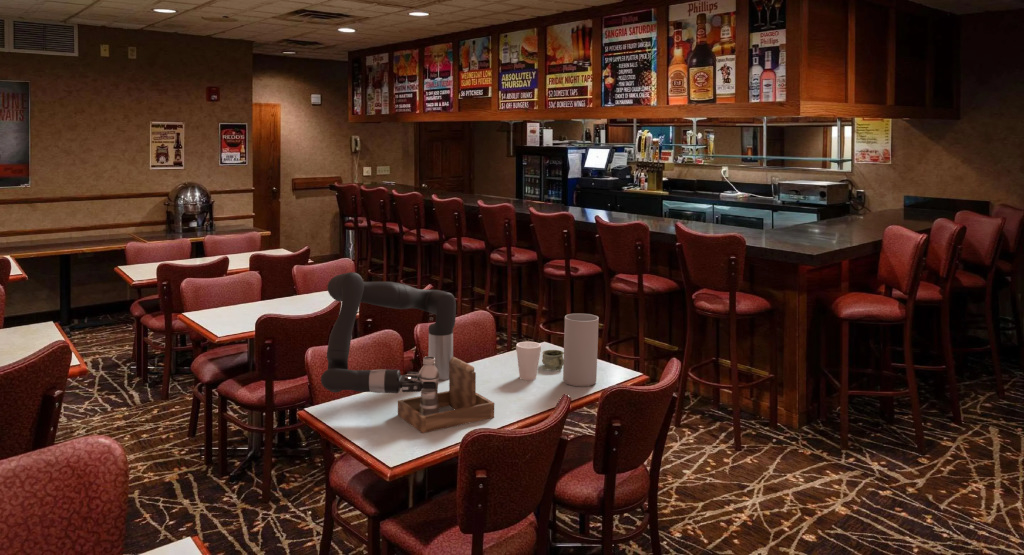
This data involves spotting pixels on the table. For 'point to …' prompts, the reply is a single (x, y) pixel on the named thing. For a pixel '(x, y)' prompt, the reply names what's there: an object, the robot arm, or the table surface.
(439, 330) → the robot arm
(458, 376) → the wooden box
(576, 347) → the cylinder vase
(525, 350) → the foam cup
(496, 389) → the table surface
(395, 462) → the table surface
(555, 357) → the vessel
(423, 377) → the plastic bottle
